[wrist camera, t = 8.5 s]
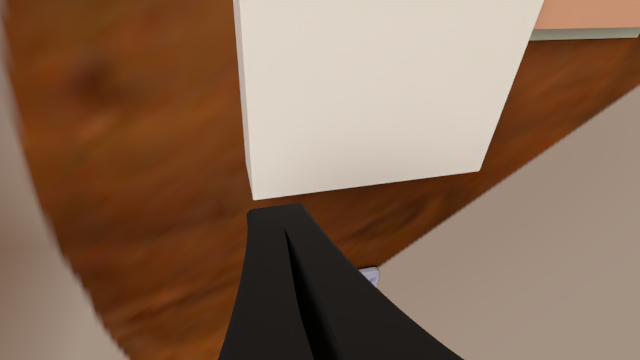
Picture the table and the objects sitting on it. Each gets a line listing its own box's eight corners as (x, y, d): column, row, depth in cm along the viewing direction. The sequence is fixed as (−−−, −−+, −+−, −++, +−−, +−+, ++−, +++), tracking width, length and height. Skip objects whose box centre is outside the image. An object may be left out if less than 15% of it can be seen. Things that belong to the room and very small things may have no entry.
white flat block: (449, 142, 22) (479, 170, 20) (246, 163, 19) (253, 200, 17) (547, -183, 14) (620, -201, 11) (214, -236, 11) (219, -275, 8)
